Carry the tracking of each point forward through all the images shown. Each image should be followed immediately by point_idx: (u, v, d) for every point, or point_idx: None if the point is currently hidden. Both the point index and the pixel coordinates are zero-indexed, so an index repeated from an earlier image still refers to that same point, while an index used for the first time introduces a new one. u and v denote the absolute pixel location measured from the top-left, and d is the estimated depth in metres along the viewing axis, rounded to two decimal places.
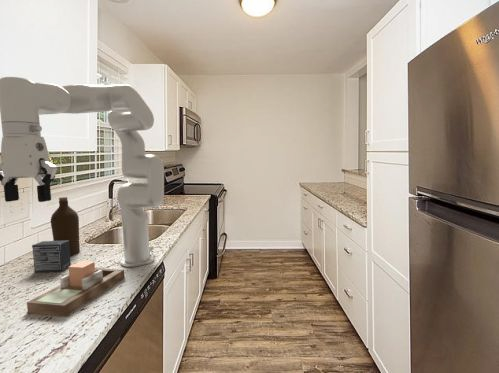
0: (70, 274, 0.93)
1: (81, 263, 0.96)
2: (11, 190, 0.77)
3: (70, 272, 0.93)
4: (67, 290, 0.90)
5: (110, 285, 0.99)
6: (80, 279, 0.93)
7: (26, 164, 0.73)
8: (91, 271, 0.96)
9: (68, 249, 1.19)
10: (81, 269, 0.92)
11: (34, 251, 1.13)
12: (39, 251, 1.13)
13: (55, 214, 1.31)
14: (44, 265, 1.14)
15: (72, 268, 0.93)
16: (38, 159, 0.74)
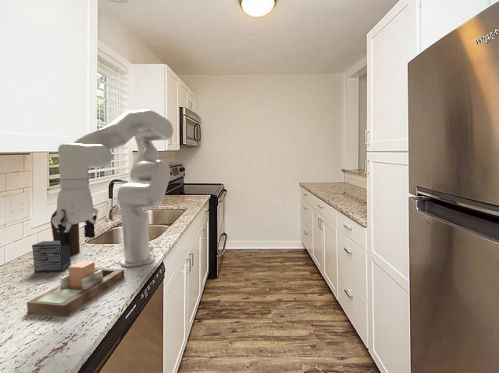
0: (70, 274, 0.93)
1: (81, 263, 0.96)
2: None
3: (70, 272, 0.93)
4: (67, 290, 0.90)
5: (110, 285, 0.99)
6: (80, 279, 0.93)
7: (90, 210, 0.96)
8: (91, 271, 0.96)
9: (68, 249, 1.19)
10: (81, 269, 0.92)
11: (34, 251, 1.13)
12: (39, 251, 1.13)
13: (55, 214, 1.31)
14: (44, 265, 1.14)
15: (72, 268, 0.93)
16: None
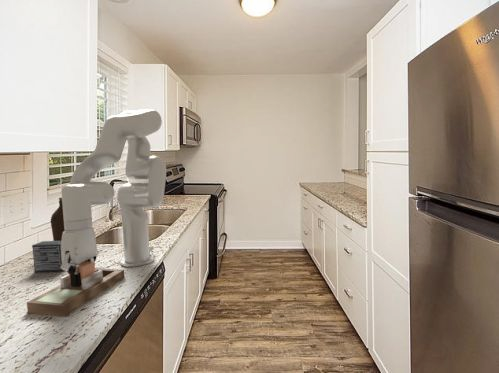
0: None
1: (81, 263, 0.96)
2: None
3: None
4: (67, 290, 0.90)
5: (110, 285, 0.99)
6: None
7: (93, 247, 0.97)
8: (91, 271, 0.96)
9: None
10: (81, 269, 0.92)
11: (34, 251, 1.13)
12: (39, 251, 1.13)
13: (55, 214, 1.31)
14: (44, 265, 1.14)
15: None
16: None
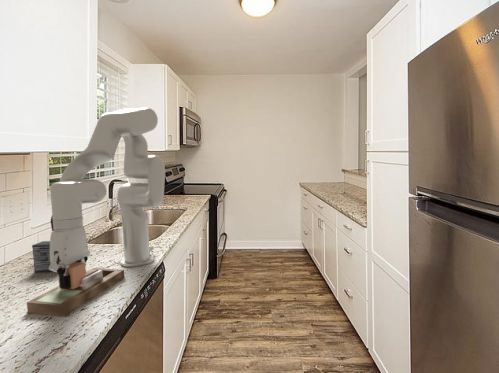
0: None
1: (71, 264, 0.92)
2: None
3: None
4: (67, 290, 0.90)
5: (110, 285, 0.99)
6: (70, 281, 0.89)
7: (84, 248, 0.93)
8: (81, 272, 0.92)
9: None
10: (71, 270, 0.88)
11: (34, 251, 1.13)
12: (39, 251, 1.13)
13: None
14: (44, 265, 1.14)
15: None
16: None
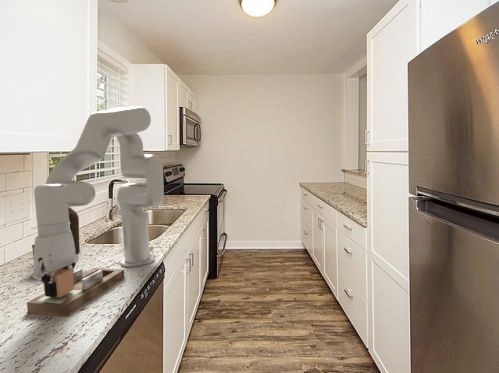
0: None
1: (57, 271, 0.87)
2: None
3: None
4: None
5: (110, 285, 0.99)
6: (56, 289, 0.84)
7: (71, 253, 0.88)
8: (68, 279, 0.87)
9: None
10: (56, 278, 0.84)
11: None
12: None
13: None
14: None
15: None
16: None
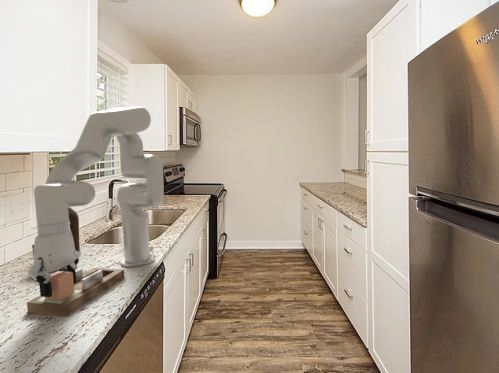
0: None
1: (58, 273, 0.87)
2: None
3: None
4: None
5: (110, 285, 0.99)
6: (56, 292, 0.84)
7: (71, 253, 0.88)
8: (69, 282, 0.87)
9: None
10: (57, 281, 0.84)
11: None
12: None
13: None
14: None
15: None
16: None
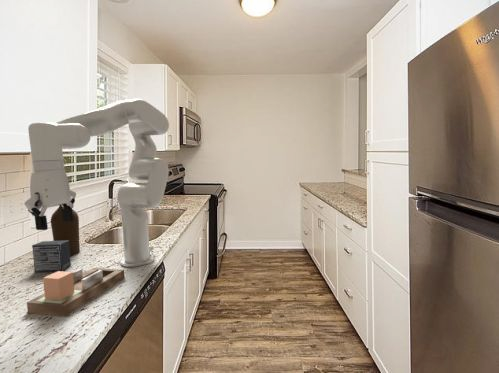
0: (45, 286, 0.85)
1: (58, 273, 0.87)
2: None
3: (45, 283, 0.85)
4: None
5: (110, 285, 0.99)
6: (56, 292, 0.84)
7: (66, 193, 0.92)
8: (69, 282, 0.87)
9: (68, 249, 1.19)
10: (57, 281, 0.84)
11: (34, 251, 1.13)
12: (39, 251, 1.13)
13: (55, 214, 1.31)
14: (44, 265, 1.14)
15: (47, 279, 0.84)
16: None
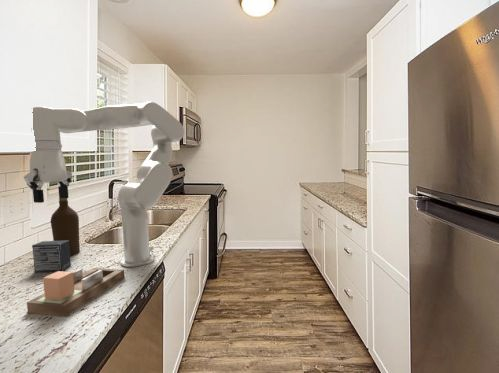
0: (45, 286, 0.85)
1: (58, 273, 0.87)
2: None
3: (45, 283, 0.85)
4: None
5: (110, 285, 0.99)
6: (56, 292, 0.84)
7: (62, 171, 1.01)
8: (69, 282, 0.87)
9: (68, 249, 1.19)
10: (57, 281, 0.84)
11: (34, 251, 1.13)
12: (39, 251, 1.13)
13: (55, 214, 1.31)
14: (44, 265, 1.14)
15: (47, 279, 0.84)
16: None
